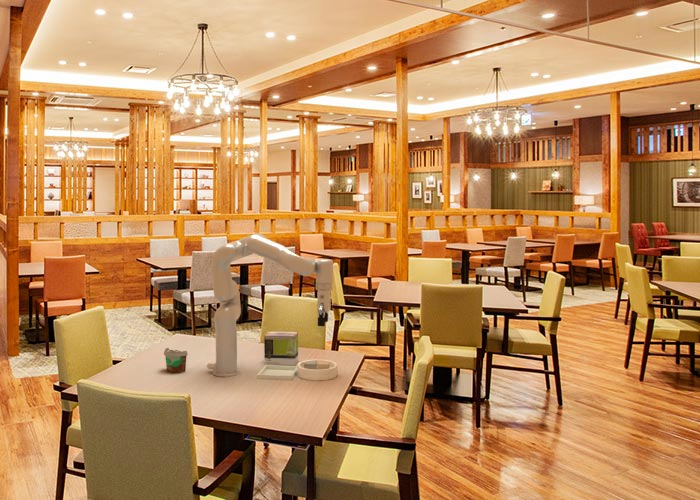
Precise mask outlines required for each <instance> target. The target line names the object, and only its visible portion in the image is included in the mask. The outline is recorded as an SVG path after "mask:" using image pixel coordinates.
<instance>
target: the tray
mask: <svg viewBox="0 0 700 500" xmlns="http://www.w3.org/2000/svg"><path fill="white" fill-rule="evenodd" d="M296 376H297V365H296V366H293V365H266V364H264V366H263V367H262V368H261V369H260V371H259V372H258V373H257V374H256V379H257V380H280V381H293V380H294V378H295V377H296Z"/></svg>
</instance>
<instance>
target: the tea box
mask: <svg viewBox="0 0 700 500" xmlns="http://www.w3.org/2000/svg"><path fill="white" fill-rule="evenodd" d="M263 340H264V341H263V342H264V343H263V347H264V348H263V351H264V353H263V355H264V357H263V358H264V365H276V366H295V365H297V364H298V362H299V332H298V331H268V332H267V333H265V335H264V336H263Z"/></svg>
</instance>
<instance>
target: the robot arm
mask: <svg viewBox="0 0 700 500" xmlns="http://www.w3.org/2000/svg"><path fill="white" fill-rule="evenodd" d="M250 255H257V256H260V257H261V258H264V259H266V260H268V261H271V262H272V263H275V264H276V265H278V266H281V267H283V268H284V269H287V270H289V271H291V272H294V273H295V274H298V275H300V276H303V277H310V276H311V275H313V274H315V290H316V291H317V300H316V301H317V305H316V309H317V313H318V315H317V327H325V326H326V323H328V322H329V312H330V311H331V303H332V302H331V300H332V298H331V297H332V295H331V293H332V292H331V291H332V290H333V279H334V261H333V259H330V258H314V257H303V256H301V255H298V254H296V253H293V252H292V251H290V250H289V249H288V248H287V247H286V246H285V245H283V244H281V243H279V242H276V241H274V240H271V239H269V238H267V237H266V235H264V234H262V233H259V232H257V233H252V234H251V235H248V236H246V237H243V238H240V239H237V240H234V241H231V242H227V243H225V244H223V245H221V246H219V247H218V248H217V249H216V250H215V251H214V253H213V254H212V258H211V274H212V286H213V287H212V288H213V296H214V298H215V300H217V301H218V302H219V304H220V305H219V307H218V308H217V309H216V310H215V312H214V316H213V320H214V331H215V333H214V334H215V362H214V363H211V362H210V363H207V365H206V368H207V369H211V370H212V375H213V376H215V377H220V378H224V377H225V378H226V377H234V376H238V375H240V374H241V368H238V337H237V336H238V333H237V321H238V319H239V318H240V316H241V314H242V311H241V310H242V307H241V300H240V299H241V298H240V289H239V285H238V284H237V282H236V281H235V280H233V277H232V273H233V272H232V268H231V264H232V262H234V261H237V260H240V259H242V258H245V257H249V256H250Z"/></svg>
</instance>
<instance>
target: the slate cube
mask: <svg viewBox="0 0 700 500" xmlns="http://www.w3.org/2000/svg"><path fill="white" fill-rule="evenodd" d="M304 368H306V369H314V370H317V361H306V362H305V363H304Z"/></svg>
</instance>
